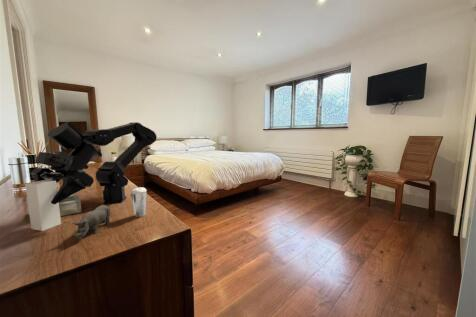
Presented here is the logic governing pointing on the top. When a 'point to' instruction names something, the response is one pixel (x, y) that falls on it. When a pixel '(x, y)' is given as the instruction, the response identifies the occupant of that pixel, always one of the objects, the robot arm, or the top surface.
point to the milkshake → (139, 201)
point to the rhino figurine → (92, 221)
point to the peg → (42, 204)
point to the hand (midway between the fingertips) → (40, 202)
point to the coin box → (70, 205)
